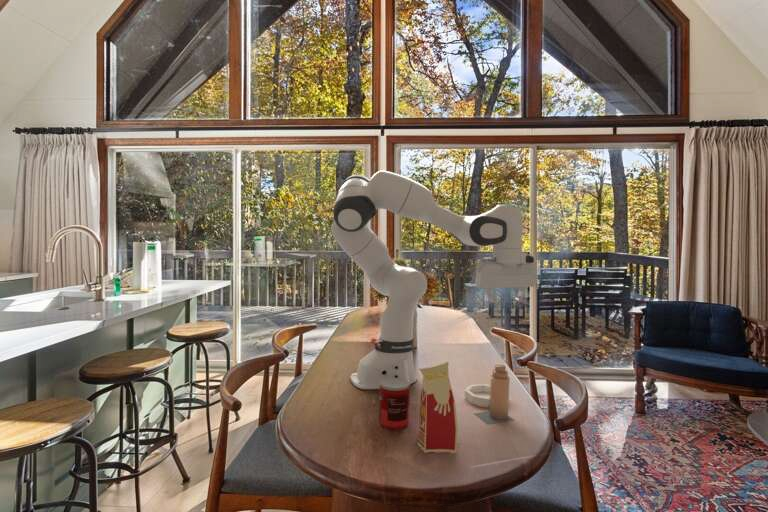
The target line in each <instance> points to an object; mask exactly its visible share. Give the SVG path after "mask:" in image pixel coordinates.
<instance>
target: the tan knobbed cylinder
mask: <svg viewBox="0 0 768 512" xmlns="http://www.w3.org/2000/svg"><path fill="white" fill-rule="evenodd" d="M508 374H509V372H508V371H507V366H506V365H505V364H494V369H493V370H492V374H491V375H490V382H489V385H490V407H489V411H490V412H489V416H490V417H491V418H493V419H496V420H506V419H508V416H509V404H510V400H509V399H510V376H509V375H508Z"/></svg>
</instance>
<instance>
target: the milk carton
mask: <svg viewBox="0 0 768 512" xmlns="http://www.w3.org/2000/svg"><path fill="white" fill-rule="evenodd" d="M449 363H450V362H449V361H446V362H443V363H442V362H441V363H440V364H436V365H434V366H429V367H428V366H427V367H422V368H418V370H419V371H420V372H421V375H422V376H423V378H422V384H421V392H420V400H419V401H420V403H419V414H418V416H419V420H418V422H419V423H418V424H419V427H418V435H417V436H418V437H417V447H419V446H420V447H421V448H420V447H419V448H420V449H421V450H422V451H423V452H424V453H425V454H428V453H427V452H434V453H441V452H451V453H450V454H457V453H458V452H457V451H458V450H457V449H458V420H457V419H458V418H457V409H456V399H455V397H454V392H453V389H452V384H451V381H450V380H451V379H450V375H449Z"/></svg>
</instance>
